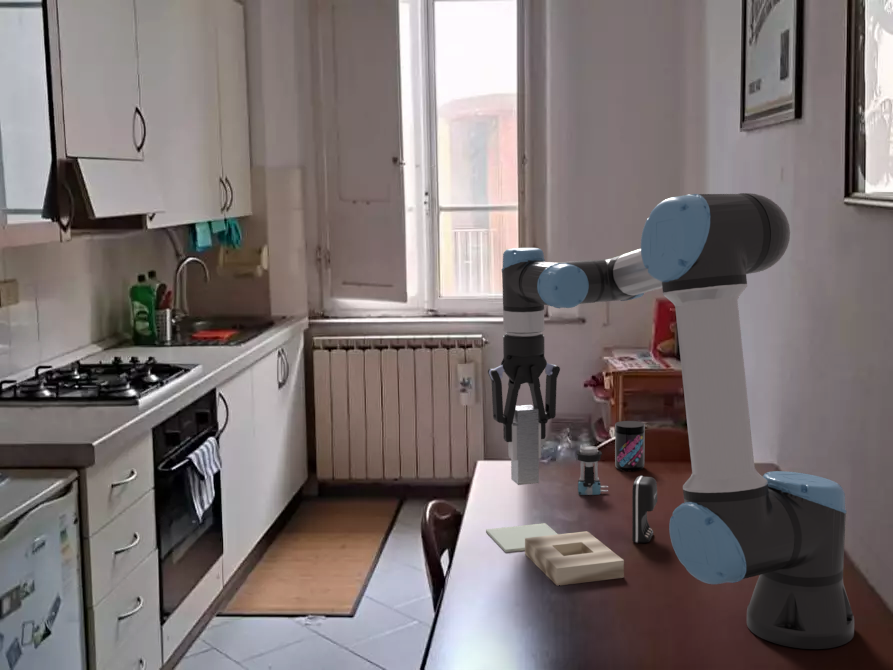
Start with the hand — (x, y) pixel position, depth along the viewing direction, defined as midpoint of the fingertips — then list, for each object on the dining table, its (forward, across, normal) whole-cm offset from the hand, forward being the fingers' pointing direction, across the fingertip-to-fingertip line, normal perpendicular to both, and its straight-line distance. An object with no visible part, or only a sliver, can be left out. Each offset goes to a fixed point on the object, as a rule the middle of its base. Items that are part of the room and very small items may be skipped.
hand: (524, 457), depth 200 cm
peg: (+5, 0, 0) cm, 5 cm away
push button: (+16, -23, -23) cm, 36 cm away
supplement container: (+16, -39, -39) cm, 57 cm away
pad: (+16, 0, 0) cm, 16 cm away
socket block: (+16, -3, +16) cm, 23 cm away
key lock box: (+16, -21, +7) cm, 27 cm away
